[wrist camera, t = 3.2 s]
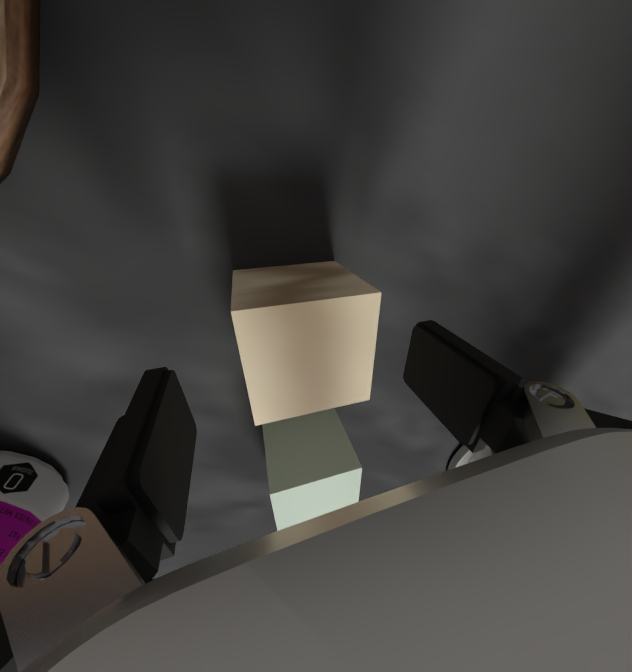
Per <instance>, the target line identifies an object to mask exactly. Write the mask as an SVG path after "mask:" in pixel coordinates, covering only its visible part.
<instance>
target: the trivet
mask: <svg viewBox="0 0 632 672" xmlns="http://www.w3.org/2000/svg"><path fill="white" fill-rule="evenodd" d="M39 53H40V0H0V183H1V182H2V181H3V180H4V179H5V178H6V177H7V176H8V175H9V174H10V172H11V170H12V167H13V164H14V161H15V159H16V156H17V153H18V150H19V148H20V145H21V142H22V139H23V137H24V134H25V131H26V128H27V126H28V123H29V120H30V117H31V115H32V112H33V109H34V107H35V104H36V101H37V98H38V96H39Z"/></svg>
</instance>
